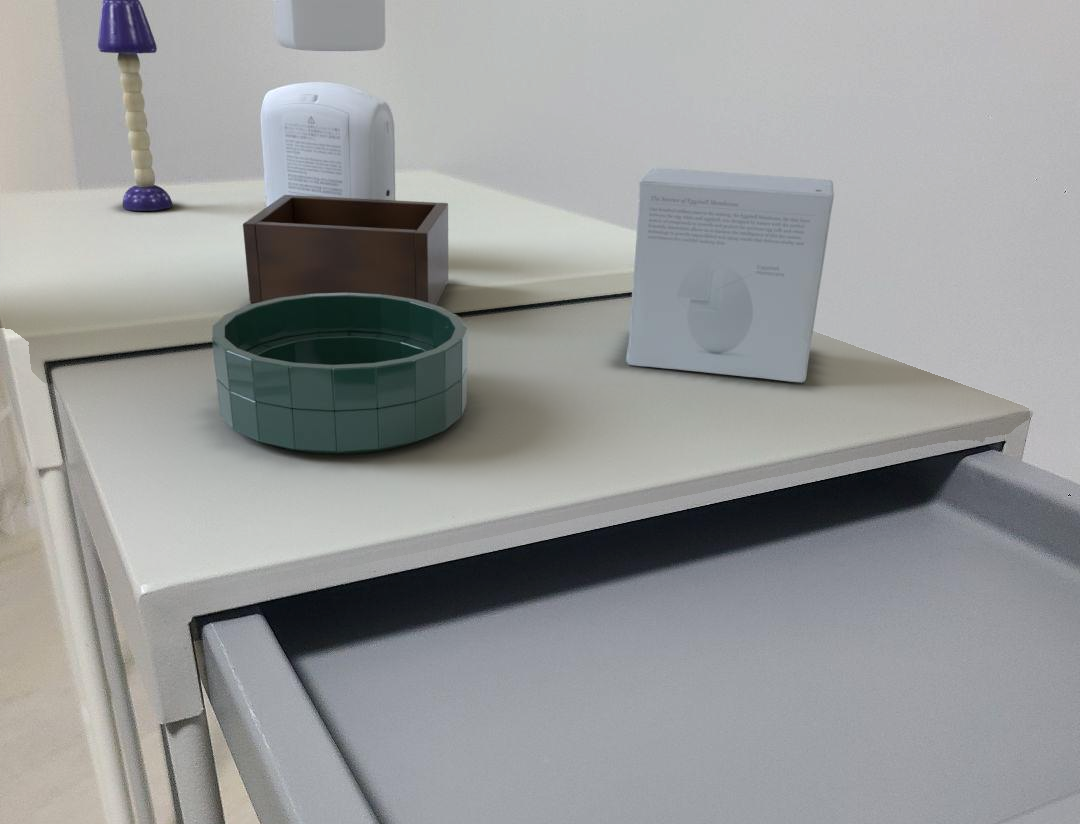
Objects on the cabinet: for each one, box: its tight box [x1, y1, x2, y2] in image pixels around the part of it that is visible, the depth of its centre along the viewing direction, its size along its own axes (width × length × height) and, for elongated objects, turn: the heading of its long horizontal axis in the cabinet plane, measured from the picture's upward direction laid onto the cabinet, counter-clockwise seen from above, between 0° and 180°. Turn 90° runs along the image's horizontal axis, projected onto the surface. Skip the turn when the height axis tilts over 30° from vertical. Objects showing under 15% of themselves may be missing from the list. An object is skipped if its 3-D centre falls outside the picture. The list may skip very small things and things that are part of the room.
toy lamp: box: [97, 0, 173, 212], centre depth 92 cm, size 5×5×17 cm
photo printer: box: [260, 81, 396, 208], centre depth 80 cm, size 10×4×12 cm, turn 69°
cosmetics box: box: [625, 167, 835, 383], centre depth 62 cm, size 10×6×10 cm, turn 77°
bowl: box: [211, 293, 468, 455], centre depth 54 cm, size 12×12×4 cm
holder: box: [242, 195, 449, 306], centre depth 72 cm, size 12×10×6 cm
